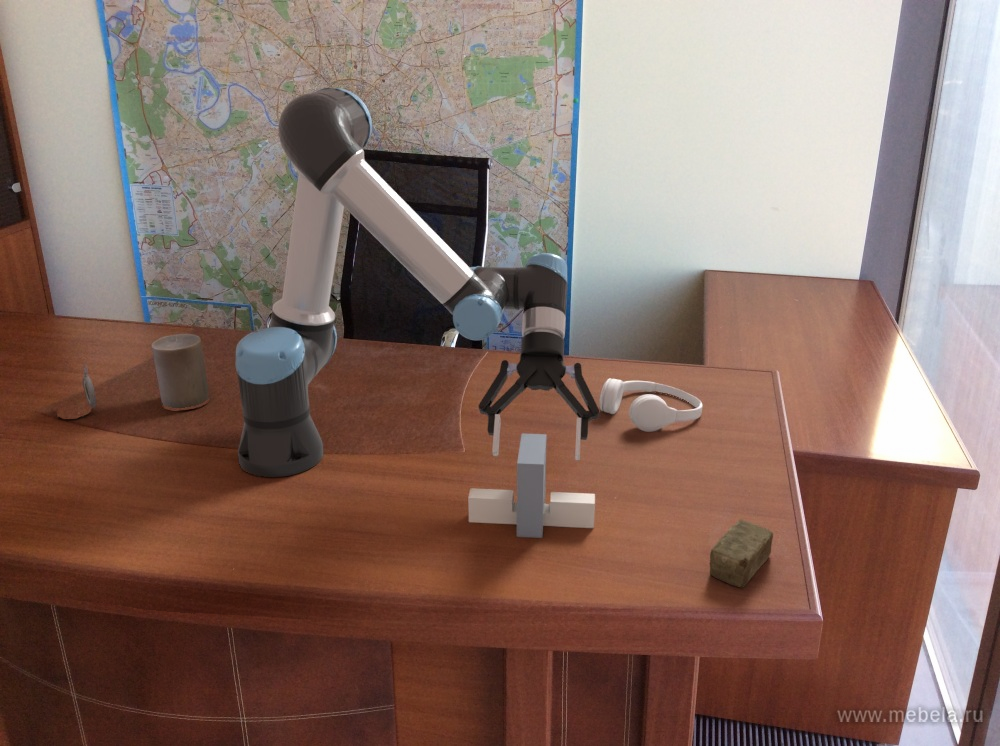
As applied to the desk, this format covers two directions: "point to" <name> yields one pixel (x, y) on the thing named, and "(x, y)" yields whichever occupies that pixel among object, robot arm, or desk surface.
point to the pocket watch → (89, 389)
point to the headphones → (648, 404)
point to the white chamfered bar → (557, 513)
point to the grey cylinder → (180, 370)
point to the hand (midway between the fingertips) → (536, 456)
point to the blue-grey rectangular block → (531, 485)
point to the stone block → (740, 553)
